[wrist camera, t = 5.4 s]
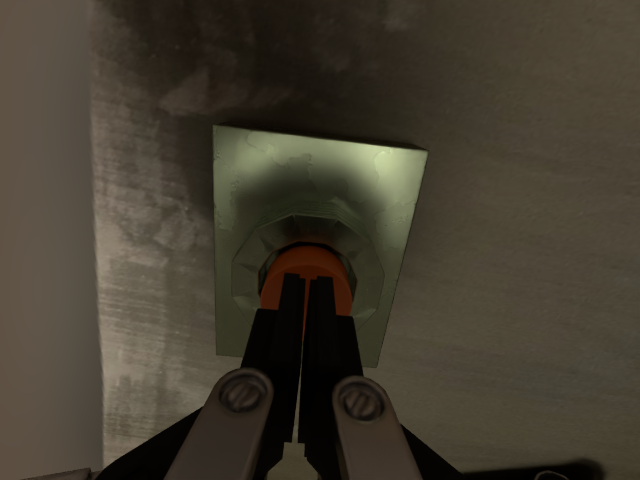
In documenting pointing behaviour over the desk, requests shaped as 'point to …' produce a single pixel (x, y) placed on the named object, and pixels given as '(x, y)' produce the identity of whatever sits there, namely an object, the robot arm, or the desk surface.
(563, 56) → the desk surface
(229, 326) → the button box
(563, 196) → the desk surface
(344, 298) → the button
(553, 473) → the toy car
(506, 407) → the desk surface
